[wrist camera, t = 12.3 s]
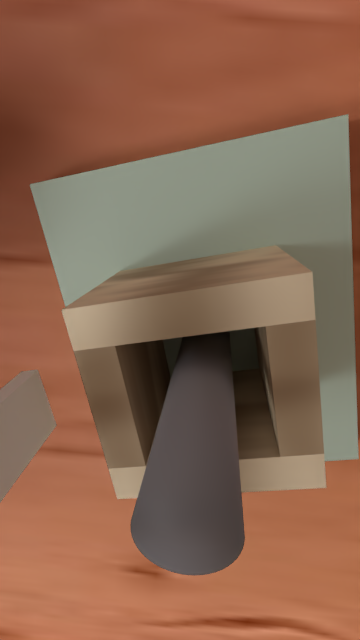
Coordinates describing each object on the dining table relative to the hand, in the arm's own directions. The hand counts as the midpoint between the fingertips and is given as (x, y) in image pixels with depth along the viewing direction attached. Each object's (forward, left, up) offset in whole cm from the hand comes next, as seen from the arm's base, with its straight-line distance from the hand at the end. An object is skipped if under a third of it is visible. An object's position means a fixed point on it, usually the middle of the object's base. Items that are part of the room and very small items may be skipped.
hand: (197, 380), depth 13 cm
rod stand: (0, 0, -7) cm, 7 cm away
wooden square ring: (0, 0, -5) cm, 5 cm away
